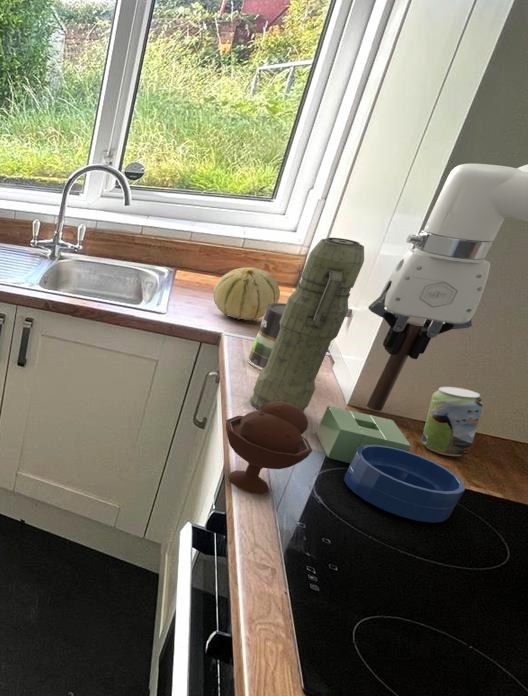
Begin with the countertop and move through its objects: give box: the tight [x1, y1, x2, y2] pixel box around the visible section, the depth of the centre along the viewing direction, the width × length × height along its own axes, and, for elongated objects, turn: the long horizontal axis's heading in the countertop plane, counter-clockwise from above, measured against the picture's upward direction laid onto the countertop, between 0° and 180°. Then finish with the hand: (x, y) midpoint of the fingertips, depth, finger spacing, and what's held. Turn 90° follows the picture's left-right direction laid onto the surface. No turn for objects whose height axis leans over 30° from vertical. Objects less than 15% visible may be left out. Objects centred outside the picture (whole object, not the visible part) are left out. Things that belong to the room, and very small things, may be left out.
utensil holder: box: [315, 405, 412, 464], centre depth 103 cm, size 9×9×6 cm
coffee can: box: [247, 302, 287, 371], centre depth 133 cm, size 10×10×14 cm
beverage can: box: [420, 386, 484, 457], centre depth 104 cm, size 6×7×12 cm
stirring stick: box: [365, 320, 423, 412], centre depth 97 cm, size 2×2×16 cm
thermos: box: [249, 237, 365, 414], centre depth 111 cm, size 9×12×35 cm
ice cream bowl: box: [225, 401, 313, 496], centre depth 92 cm, size 11×11×15 cm
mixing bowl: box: [343, 445, 466, 524], centre depth 91 cm, size 12×12×6 cm
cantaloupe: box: [212, 267, 281, 321], centre depth 161 cm, size 15×15×15 cm
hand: (400, 353), depth 96 cm, fingers closed on stirring stick, 2 cm apart
